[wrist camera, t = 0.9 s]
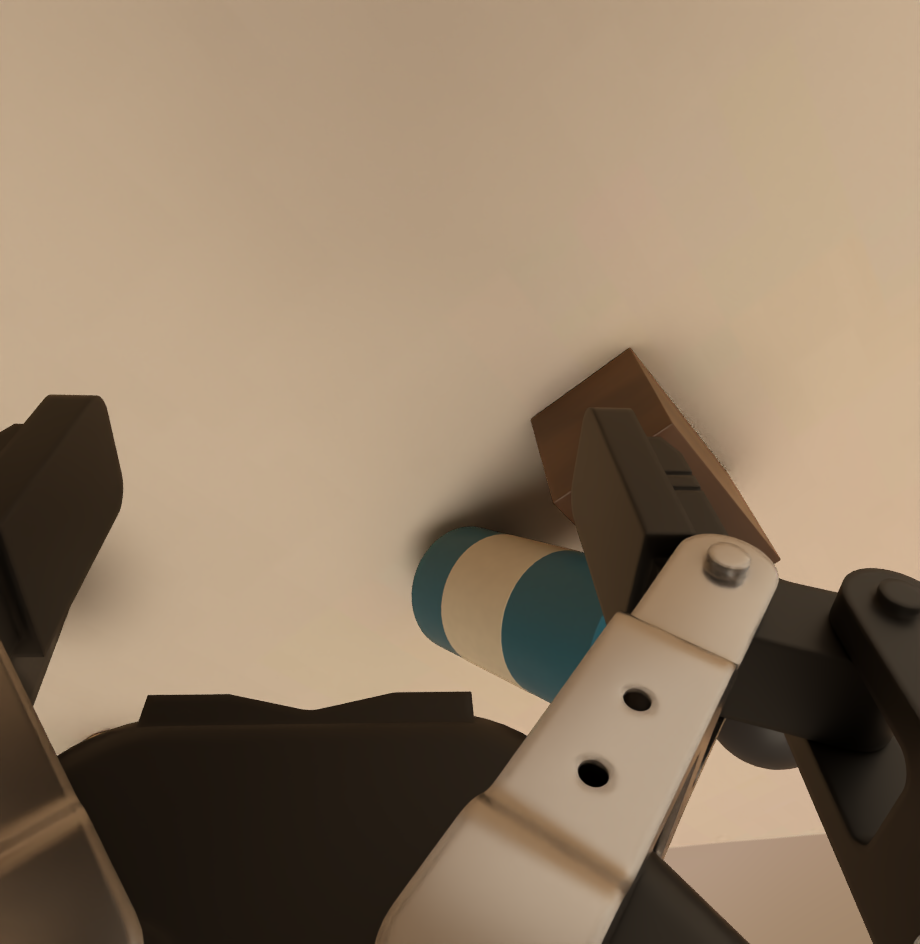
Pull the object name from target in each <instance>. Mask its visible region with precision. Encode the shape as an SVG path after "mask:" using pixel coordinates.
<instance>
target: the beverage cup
mask: <svg viewBox="0 0 920 944" xmlns="http://www.w3.org/2000/svg"><path fill="white" fill-rule="evenodd" d="M68 611H69V610H68ZM67 614H68V612H67ZM67 614H66V616H65V618H64V620H63V622H62V624H61V626H60V628H59V629H58V631H57V633H56V635H55V637H54V639H53V641H52V643H51V645H50V647H49V649H48V651H47V653H46V655H45V657H10V660H11V663H12V665H13V667H14V669H15V671H16V673H17V675H18V677H19V679H20V681H21V683H22V685H23V687H24V689H25V691H26V693H27V695H28V698H29V700H30V702H31V704H32V706H33V705H34V702H35V700H36V697H37V694H38V692H39V689H40V686H41V684H42V681H43V678H44V676H45V673H46V670H47V668H48V665H49V662H50V659H51V657H52V654H53V651H54V649H55V646H56V643H57V641H58V638H59V635H60V633H61V630H62V627H63V625H64V622H65V619H66V617H67Z"/></svg>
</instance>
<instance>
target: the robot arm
mask: <svg viewBox="0 0 920 944" xmlns="http://www.w3.org/2000/svg"><path fill="white" fill-rule="evenodd" d="M122 498H123V479H122V473H121V468H120V464H119V460H118V455H117V451H116V446H115V442H114V438H113V433H112V429H111V424H110V420H109V415H108V411H107V407H106V405H105V403H104V401H103V399H102V398H101V397H100V396H93V395H48V396H47V397H46V398H45V399H44V400H43V401H42V402H41V403H40V405H39V406H38V407H37V408H36V409H35V411H34V412H33V413H32V414H31V416H30V417H29V418H28V419H27V420H26V422H25V423H24V424H13V425H12V426H10V427H8V428H6V429H5V430H3V431H1V432H0V944H749V943H748V942H747V941H746V940H745V939H744V938H743V937H742V936H741V935H740V934H739V933H738V932H737V931H736V930H735V929H734V928H733V927H732V926H731V925H730V924H729V923H728V922H727V921H726V920H725V919H724V918H722V917H721V916H720V915H719V914H718V913H717V912H716V911H715V910H714V909H713V908H712V907H711V906H710V905H709V904H708V903H707V902H706V901H705V900H704V899H703V898H702V897H701V896H699V894H698V893H697V892H695V890H694V889H692V888H691V887H690V886H689V885H688V884H687V883H686V882H685V881H684V880H683V879H682V878H681V877H680V876H679V875H678V874H677V873H676V872H675V871H674V870H673V869H672V868H671V867H670V866H669V865H668V864H666V862H665V861H663V859H664V857H665V855H666V852H667V850H668V848H669V845H670V843H671V841H672V838H673V836H674V833H675V831H676V828H677V826H678V824H679V821H680V819H681V817H682V814H683V812H684V810H685V807H686V805H687V803H688V801H689V799H690V796H691V794H692V792H693V790H694V788H695V785H696V783H697V781H698V779H699V777H700V774H701V772H702V770H703V768H704V766H705V763H706V761H707V759H708V757H709V755H710V752H711V750H712V748H713V746H714V744H715V741H716V739H717V737H718V735H719V733H720V731H721V728H722V726H723V724H724V722H725V719H726V718H728V719H731V720H735V721H739V722H743V723H747V724H751V725H754V726H758V727H762V728H766V729H770V730H773V731H777V732H781V733H784V735H785V738H786V740H787V742H788V745H789V747H790V750H791V752H792V754H793V757H794V759H795V761H796V764H797V766H798V768H799V771H800V773H801V775H802V778H803V780H804V782H805V785H806V787H807V789H808V792H809V794H810V797H811V799H812V801H813V804H814V806H815V808H816V811H817V813H818V815H819V818H820V820H821V822H822V825H823V827H824V829H825V832H826V834H827V836H828V839H829V841H830V843H831V846H832V848H833V851H834V853H835V855H836V858H837V860H838V862H839V865H840V867H841V869H842V871H843V874H844V876H845V879H846V881H847V883H848V886H849V888H850V890H851V893H852V895H853V898H854V900H855V902H856V905H857V907H858V909H859V912H860V914H861V916H862V918H863V921H864V923H865V926H866V928H867V930H868V933H869V935H870V938H871V940H872V942H873V944H920V581H917V580H915V579H913V578H911V577H909V576H906V575H904V574H901V573H897V572H894V571H890V570H885V569H877V568H865V569H859V570H856V571H853V572H851V573H850V574H848V575H847V576H846V577H845V578H844V580H843V582H842V585H841V587H840V589H839V591H838V593H837V592H832V591H828V590H823V589H819V588H814V587H810V586H805V585H801V584H796V583H792V582H789V581H785V580H782V579H780V578H779V574H778V571H777V568H776V567H775V565H774V563H773V562H772V561H771V559H770V558H769V557H768V556H767V555H765V554H764V553H763V552H762V551H761V550H759V549H758V548H756V547H754V546H753V545H751V544H749V543H747V542H745V541H742V540H740V539H737V538H734V537H730V536H729V535H728V533H727V532H726V530H725V528H724V526H723V525H722V523H721V521H720V519H719V518H718V516H717V514H716V512H715V511H714V509H713V507H712V505H711V504H710V502H709V500H708V498H707V497H706V495H705V493H704V491H701V486H700V484H699V483H698V481H697V479H696V477H695V476H694V475H692V470H691V469H690V467H689V465H688V463H687V462H686V460H685V458H684V456H683V455H682V453H681V452H679V451H678V450H677V449H676V448H674V447H673V446H672V445H670V444H669V443H668V442H667V441H665V440H664V439H663V438H662V437H647V436H646V434H645V432H644V430H643V428H642V426H641V425H640V423H639V421H638V419H637V417H636V415H635V413H634V411H633V410H632V409H631V408H599V407H589V408H587V409H586V411H585V414H584V417H583V422H582V427H581V433H580V439H579V445H578V451H577V457H576V463H575V468H574V474H573V480H572V489H571V506H572V514H573V518H574V522H575V525H576V528H577V532H578V535H579V538H580V541H581V545H582V548H583V551H584V554H585V557H586V561H587V564H588V567H589V570H590V574H591V577H592V580H593V583H594V587H595V590H596V593H597V596H598V600H599V603H600V606H601V609H602V613H603V616H604V619H605V622H606V625H607V626H606V627H605V628H604V630H603V631H602V633H601V634H600V635H599V637H598V638H597V640H596V641H595V642H594V644H593V645H592V647H591V648H590V649H589V651H588V652H587V654H586V655H585V656H584V658H583V659H582V660H581V662H580V663H579V665H578V666H577V667H576V669H575V670H574V672H573V673H572V674H571V676H570V677H569V679H568V680H567V681H566V683H565V684H564V686H563V687H562V688H561V690H560V691H559V693H558V694H557V695H556V697H555V698H554V699H553V701H552V702H551V704H550V705H549V706H548V708H547V709H546V711H545V712H544V713H543V715H542V716H541V718H540V719H539V720H538V722H537V723H536V725H535V726H534V727H533V729H532V730H531V732H530V733H529V734H528V736H526V735H524V734H523V733H521V732H519V731H517V730H515V729H512V728H510V727H508V726H506V725H503V724H500V723H497V722H494V721H491V720H488V719H484V718H480V717H476V716H474V715H473V704H472V694H471V692H398V693H390V694H385V695H381V696H376V697H372V698H367V699H363V700H358V701H354V702H349V703H345V704H340V705H336V706H331V707H327V708H322V709H317V710H302V709H297V708H293V707H288V706H283V705H278V704H273V703H269V702H264V701H259V700H254V699H249V698H245V697H240V696H235V695H230V694H214V695H148V696H147V699H146V702H145V705H144V708H143V710H142V713H141V716H140V719H139V722H134V723H130V724H126V725H123V726H120V727H117V728H114V729H111V730H108V731H105V732H103V733H101V734H98V735H96V736H93V737H91V738H89V739H87V740H85V741H83V742H81V743H79V744H77V745H75V746H73V747H71V748H69V749H68V750H66V751H64V752H63V753H61V754H60V755H58V756H57V755H56V753H55V751H54V749H53V747H52V745H51V743H50V741H49V739H48V737H47V735H46V733H45V730H44V728H43V726H42V724H41V722H40V720H39V718H38V716H37V714H36V712H35V710H34V708H33V706H32V704H31V702H30V700H29V698H28V695H27V693H26V691H25V689H24V687H23V685H22V683H21V681H20V679H19V677H18V675H17V673H16V671H15V669H14V667H13V665H12V663H11V660H10V657H45V655H46V653H47V651H48V649H49V647H50V645H51V643H52V641H53V639H54V637H55V635H56V633H57V631H58V629H59V628H60V626H61V624H62V622H63V620H64V618H65V616H66V614H67V612H68V610H69V608H70V606H71V604H72V602H73V600H74V598H75V597H76V595H77V593H78V591H79V589H80V587H81V585H82V583H83V581H84V579H85V577H86V575H87V573H88V571H89V569H90V568H91V566H92V564H93V562H94V560H95V558H96V556H97V554H98V552H99V550H100V548H101V546H102V544H103V542H104V540H105V538H106V537H107V535H108V533H109V531H110V529H111V527H112V525H113V523H114V521H115V519H116V517H117V515H118V513H119V511H120V508H121V504H122Z"/></svg>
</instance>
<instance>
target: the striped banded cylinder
mask: <svg viewBox="0 0 920 944" xmlns="http://www.w3.org/2000/svg"><path fill="white" fill-rule="evenodd" d="M412 606H413V611H414V615H415V618H416V621H417V623H418V625H419V627H420V629H421V630H422V632H423V633H424V634H425V635H426V637H427V638H429V639H430V640H431V641H432V642H434V643H435V644H437V645H438V646H440V647H442V648H444V649H446V650H448V651H450V652H452V653H454V654H456V655H458V656H460V657H462V658H464V659H465V660H467V661H469V662H471V663H473V664H474V665H476V666H478V667H480V668H482V669H484V670H486V671H488V672H490V673H492V674H494V675H496V676H498V677H500V678H502V679H504V680H506V681H508V682H509V683H511V684H513V685H515V686H517V687H519V688H521V689H523V690H525V691H527V692H529V693H531V694H534V695H536V696H538V697H540V698H542V699H544V700H545V701H547V702H549V703H551V702H552V701H553V699H554V698H555V697H556V695H557V694H558V693H559V691H560V690H561V688H562V687H563V686H564V684H565V683H566V681H567V680H568V679H569V677H570V676H571V674H572V673H573V672H574V670H575V669H576V667H577V666H578V665H579V663H580V662H581V660H582V659H583V658H584V656H585V655H586V654H587V652H588V651H589V649H590V648H591V647H592V645H593V644H594V642H595V641H596V640H597V638H598V637H599V635H600V634H601V633H602V631H603V630H604V628H605V627H606V626H607V625H606V622H605V619H604V616H603V613H602V609H601V606H600V603H599V600H598V596H597V593H596V590H595V587H594V583H593V580H592V577H591V574H590V570H589V567H588V564H587V561H586V557H585V554H584V553H583V552H580V551H576V550H572V549H568V548H564V547H560V546H556V545H551V544H547V543H543V542H539V541H535V540H531V539H527V538H522V537H518V536H514V535H509V534H504V533H500V532H496V531H492V530H488V529H484V528H479V527H462V528H458V529H455V530H452V531H450V532H448V533H446V534H445V535H443V536H441V537H440V538H439V539H438V540H437V541H435V542H434V543H433V544H432V545H431V546H430V548H429V549H428V550H427V551H426V553H425V554H424V556H423V558H422V559H421V561H420V563H419V565H418V567H417V570H416V573H415V576H414V580H413V585H412ZM717 740H718V741H719V742H720V743H721V744H722V745H723V746H724V747H725V748H726V749H727V750H728V751H729V752H731V753H732V754H733V755H734V756H736V757H738V758H739V759H741V760H743V761H745V762H747V763H749V764H752V765H754V766H757V767H761V768H766V769H773V770H783V769H792V768H796V767H798V766H797V764H796V761H795V759H794V757H793V754H792V752H791V750H790V747H789V745H788V742H787V740H786V738H785V735H784V733H781V732H777V731H773V730H770V729H766V728H762V727H758V726H754V725H751V724H747V723H743V722H739V721H735V720H731V719H728V718H726V719H725V722H724V724H723V726H722V728H721V731H720V733H719V735H718V737H717Z"/></svg>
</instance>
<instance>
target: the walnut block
mask: <svg viewBox="0 0 920 944" xmlns="http://www.w3.org/2000/svg"><path fill="white" fill-rule="evenodd" d="M589 407H599V408H631V409H632V410H633V411H634V413H635V415H636V417H637V419H638V421H639V423H640V425H641V426H642V428H643V430H644V432H645V434H646V436H647V437H662V438H663V439H664V440H665V441H667V442H668V443H669V444H670V445H672V446H673V447H674V448H676V449H677V450H678V451H679V452H681V453H682V455H683V456H684V458H685V460H686V462H687V463H688V465H689V467H690V469H691V470H692V475H694V476H695V477H696V479H697V481H698V483H699V484H700V486H701V491H704V493H705V495H706V497H707V498H708V500H709V502H710V504H711V505H712V507H713V509H714V511H715V512H716V514H717V516H718V518H719V519H720V521H721V523H722V525H723V526H724V528H725V530H726V532H727V533H728V535H729V536H730V537H734V538H737V539H740V540H742V541H745V542H747V543H749V544H751V545H753V546H754V547H756V548H758V549H759V550H761V551H762V552H763V553H764V554H765V555H767V556H768V557H769V558H770V559H771V561H772V562H773V563H774V564H775V563H776V562H778V561H780V557H779V556H778V554H777V552H776V551H775V549H774V547H773V546H772V544H771V543H770V541H769V539H768V538H767V536H766V534H765V533H764V531H763V530H762V528H761V526H760V525H759V523H758V521H757V520H756V518H755V517H754V515H753V513H752V512H751V510H750V508H749V507H748V505H747V503H746V502H745V500H744V499H743V497H742V495H741V494H740V492H739V490H738V489H737V487H736V486H735V484H734V482H733V481H732V479H731V477H730V476H729V474H728V473H727V472H726V470H725V469H724V468H723V466H722V465H721V464H720V463H719V461H718V460H717V459H716V457H715V456H714V455H713V454H712V452H711V451H710V450H709V448H708V447H707V446H706V445H705V443H704V442H703V441H702V439H701V438H700V437H699V436H698V434H697V433H696V432H695V430H694V429H693V428H692V427H691V425H690V424H689V423H688V421H687V420H686V419H685V418H684V416H683V415H682V414H681V412H680V411H679V410H678V408H677V407H676V406H675V405H674V403H673V402H672V401H671V399H670V398H669V397H668V396H667V394H666V393H665V392H664V390H663V389H662V388H661V387H660V385H659V384H658V383H657V381H656V380H655V379H654V378H653V376H652V375H651V374H650V372H649V371H648V370H647V369H646V367H645V366H644V365H643V363H642V362H641V361H640V360H639V358H638V357H637V356H636V354H635V353H634V352H633V350H632V349H631V348H629V349H628V350H626V351H625V352H624V353H622V354H621V355H619V356H618V357H617V358H615V359H614V360H612V361H611V362H610V363H608V364H607V365H606V366H604V367H603V368H601V369H600V370H599V371H597V372H596V373H594V374H593V375H592V376H590V377H589V378H587V379H586V380H585V381H583V382H582V383H581V384H579V385H578V386H576V387H575V388H574V389H572V390H571V391H569V392H568V393H567V394H565V395H564V396H562V397H561V398H560V399H558V400H557V401H556V402H554V403H553V404H551V405H550V406H549V407H547V408H546V409H544V410H543V411H542V412H540V413H539V414H537V415H536V416H535V417H533V418H532V419H531V423H532V427H533V430H534V434H535V438H536V441H537V445H538V449H539V453H540V456H541V460H542V464H543V468H544V471H545V475H546V479H547V482H548V486H549V490H550V494H551V497H552V501H553V503H554V504H555V505H556V506H557V507H558V508H559V509H560V511H561V512H562V513H563V514H564V515H565V516H566V517H567V518H568V519H569V520H570V521H571V522H572V523H573V524H574V525H575V522H574V518H573V514H572V506H571V489H572V480H573V474H574V468H575V463H576V457H577V451H578V445H579V439H580V433H581V427H582V422H583V417H584V414H585V411H586V409H587V408H589ZM575 526H576V525H575Z"/></svg>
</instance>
